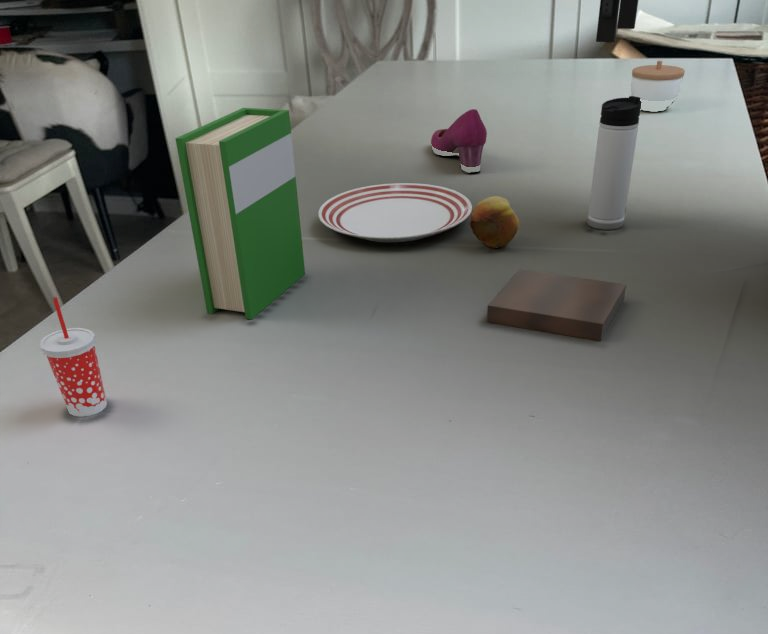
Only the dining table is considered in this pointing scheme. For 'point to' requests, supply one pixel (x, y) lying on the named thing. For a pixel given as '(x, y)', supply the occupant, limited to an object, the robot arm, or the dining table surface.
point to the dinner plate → (395, 211)
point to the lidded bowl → (656, 82)
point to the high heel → (463, 138)
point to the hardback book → (243, 208)
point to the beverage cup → (75, 367)
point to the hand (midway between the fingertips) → (615, 35)
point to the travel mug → (613, 162)
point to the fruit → (494, 222)
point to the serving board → (557, 304)
